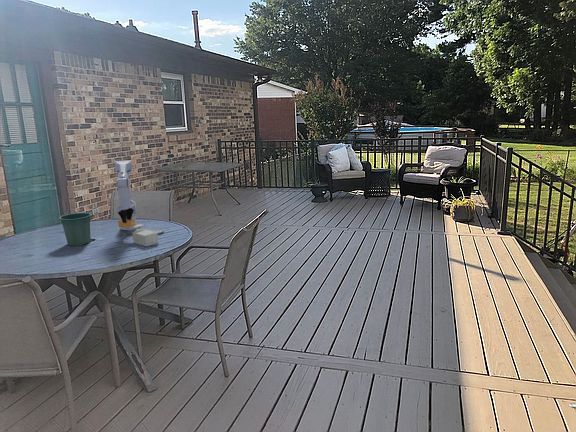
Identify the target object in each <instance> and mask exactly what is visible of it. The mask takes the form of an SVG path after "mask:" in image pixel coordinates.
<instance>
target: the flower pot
mask: <svg viewBox="0 0 576 432" xmlns="http://www.w3.org/2000/svg"><path fill="white" fill-rule="evenodd" d="M91 216H92V213H90V212H75V213H74V212H73V213H68V214H64V215H61V216H59V220H60V221H61V222H60V223H61V226H62V227H63V232H64V235H65V239H66V243H67V245H68V246H72V247H74V246H75V247H76V246H82V245H86V244H90V243H91V240H92V239H91V220H92V219H91Z"/></svg>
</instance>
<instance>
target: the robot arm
mask: <svg viewBox="0 0 576 432" xmlns="http://www.w3.org/2000/svg"><path fill="white" fill-rule="evenodd" d="M114 170H115V172H116V174H117V179H115V181H116V182H115V183H116V185H115V186H116V189H117V193H118V202H119V206H118V207H116V208H114V209H113V210H114V213H117V214H118V215H119V220H122V222H123V223H126V221H127V220H135V224H136V225H137V221H136V215H137V214H138V210H137V203H136V201H134V200H133V199H131V198H132V197H131V187H130V174H133V163H132V160H130V159H129V160H115V161H114ZM136 229H138V228H136ZM136 229H133V228H123V227H119V230H122V231H128V232H130V231H133V230H136Z"/></svg>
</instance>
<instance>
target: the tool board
mask: <svg viewBox="0 0 576 432" xmlns="http://www.w3.org/2000/svg"><path fill="white" fill-rule="evenodd" d="M141 230H148V231H152V232H156V233H157V235H158V236H159V235H162V234H165V230H158V229H157V230H155V229H146V228H137V229H134V230H131V231H126V235H130V234H132V232H136V231H141ZM132 236H133V234H132Z"/></svg>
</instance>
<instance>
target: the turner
mask: <svg viewBox="0 0 576 432" xmlns="http://www.w3.org/2000/svg"><path fill="white" fill-rule="evenodd" d="M117 223H118V227H119V228H121V227H123V228H133V229H134V230H136V228H137V229H140V228H143V227H145V225H146V224H143V223H141V224H137V223H136V224H135V220H127V221H126V223H123V222H122V220H120V219H119V220H118V221H117Z"/></svg>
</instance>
